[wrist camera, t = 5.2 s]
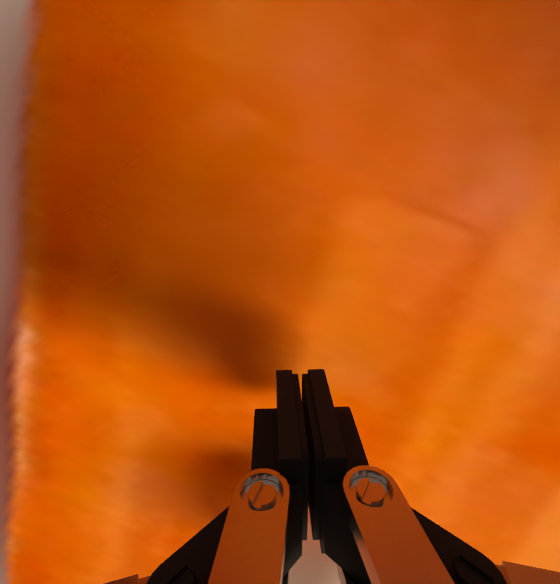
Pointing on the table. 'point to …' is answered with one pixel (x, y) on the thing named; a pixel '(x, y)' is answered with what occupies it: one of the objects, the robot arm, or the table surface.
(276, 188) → the table surface
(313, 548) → the ball
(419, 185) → the table surface
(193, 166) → the table surface
